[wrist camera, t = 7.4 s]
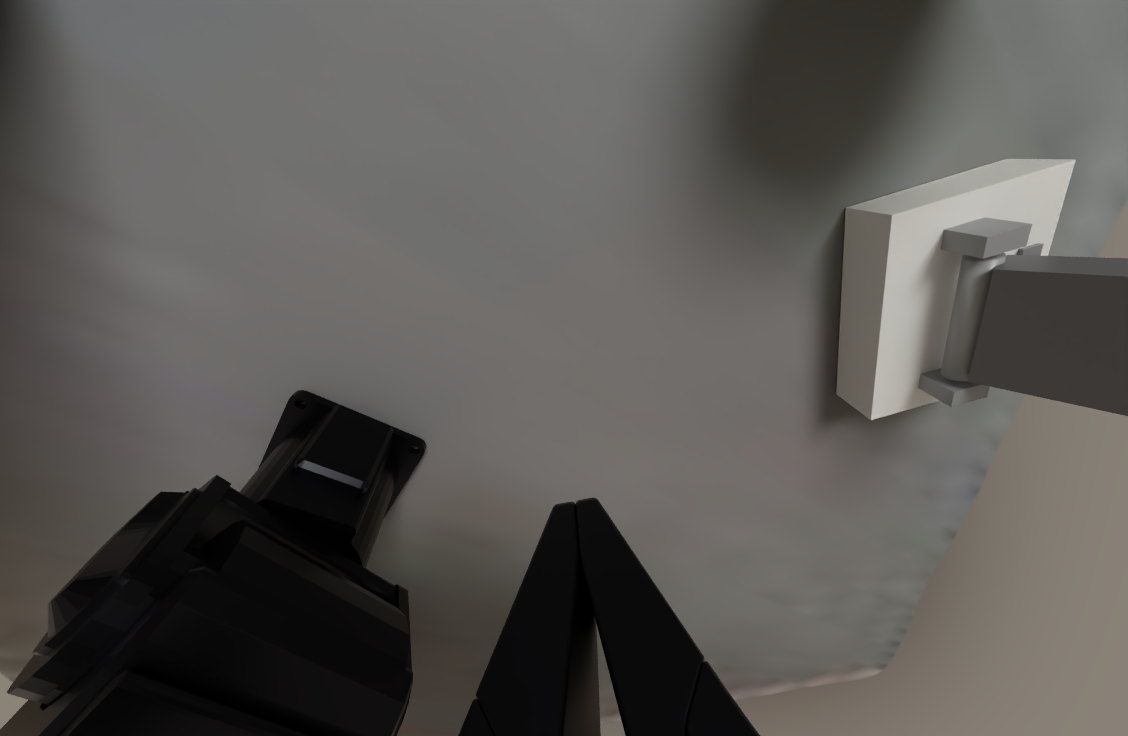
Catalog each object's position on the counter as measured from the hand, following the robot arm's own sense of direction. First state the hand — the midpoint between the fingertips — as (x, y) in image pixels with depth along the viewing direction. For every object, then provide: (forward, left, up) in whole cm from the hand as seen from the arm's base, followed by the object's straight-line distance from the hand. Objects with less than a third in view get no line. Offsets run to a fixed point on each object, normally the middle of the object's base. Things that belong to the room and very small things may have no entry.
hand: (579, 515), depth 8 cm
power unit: (+10, -15, -12) cm, 21 cm away
